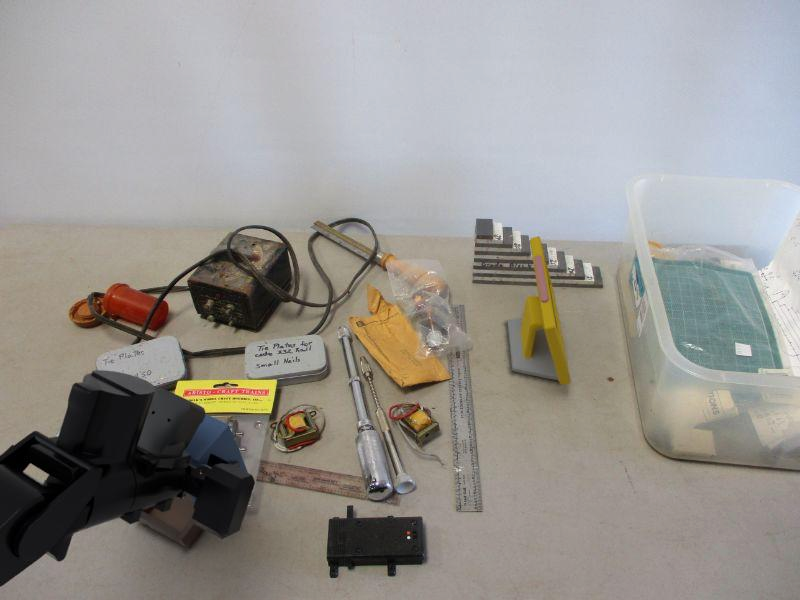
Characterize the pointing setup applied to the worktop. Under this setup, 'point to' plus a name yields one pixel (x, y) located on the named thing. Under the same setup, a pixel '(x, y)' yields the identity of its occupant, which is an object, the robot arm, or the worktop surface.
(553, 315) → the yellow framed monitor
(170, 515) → the base pad
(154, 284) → the worktop surface
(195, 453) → the blue faceted prism
